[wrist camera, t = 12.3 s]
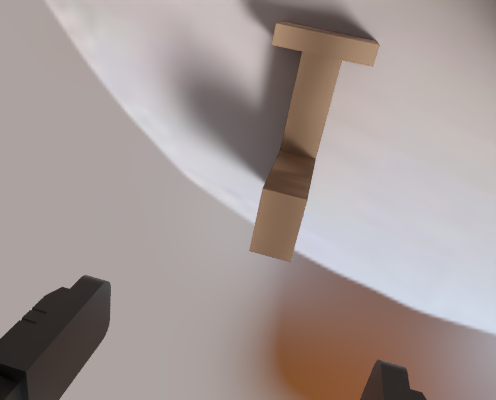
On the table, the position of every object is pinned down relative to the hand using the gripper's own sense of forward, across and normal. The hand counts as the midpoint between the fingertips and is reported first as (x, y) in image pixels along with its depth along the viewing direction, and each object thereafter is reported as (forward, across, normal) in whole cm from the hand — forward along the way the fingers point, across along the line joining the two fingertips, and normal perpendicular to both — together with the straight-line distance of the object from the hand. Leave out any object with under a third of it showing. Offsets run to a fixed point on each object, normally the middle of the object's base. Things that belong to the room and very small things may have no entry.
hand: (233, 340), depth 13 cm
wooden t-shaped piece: (+20, 0, -2) cm, 20 cm away
